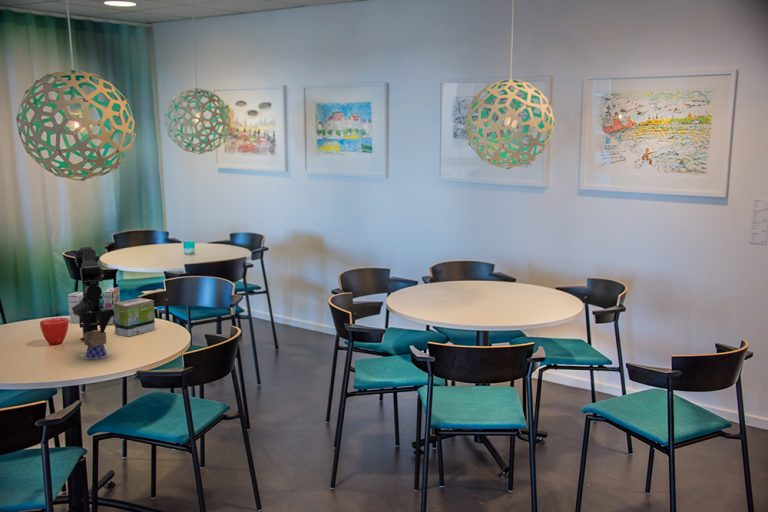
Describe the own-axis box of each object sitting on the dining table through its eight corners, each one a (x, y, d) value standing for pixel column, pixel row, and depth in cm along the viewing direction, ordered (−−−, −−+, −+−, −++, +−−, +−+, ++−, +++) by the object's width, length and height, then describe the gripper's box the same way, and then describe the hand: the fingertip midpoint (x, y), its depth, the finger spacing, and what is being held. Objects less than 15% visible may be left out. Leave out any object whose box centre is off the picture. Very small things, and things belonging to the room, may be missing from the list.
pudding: (83, 353, 289) (82, 341, 288) (113, 351, 291) (113, 339, 291) (78, 361, 277) (77, 349, 276) (109, 359, 280) (108, 347, 279)
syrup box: (80, 323, 332) (78, 294, 329) (69, 323, 333) (67, 294, 331) (87, 320, 337) (85, 292, 335) (77, 320, 339) (75, 291, 336)
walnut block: (84, 345, 282) (83, 332, 281) (96, 341, 287) (96, 329, 286) (94, 347, 279) (93, 334, 278) (106, 343, 284) (105, 331, 284)
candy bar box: (114, 325, 329) (112, 292, 327) (104, 325, 329) (102, 292, 326) (121, 319, 340) (119, 287, 338) (111, 319, 340) (109, 287, 337)
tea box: (128, 337, 309) (127, 305, 307) (114, 334, 315) (112, 303, 312) (155, 330, 322) (154, 299, 320) (141, 326, 327) (140, 296, 325)
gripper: (60, 295, 277) (62, 332, 280) (90, 300, 268) (92, 339, 271) (84, 290, 287) (86, 326, 289) (114, 295, 278) (116, 332, 280)
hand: (94, 331), depth 282 cm, fingers open, 9 cm apart
